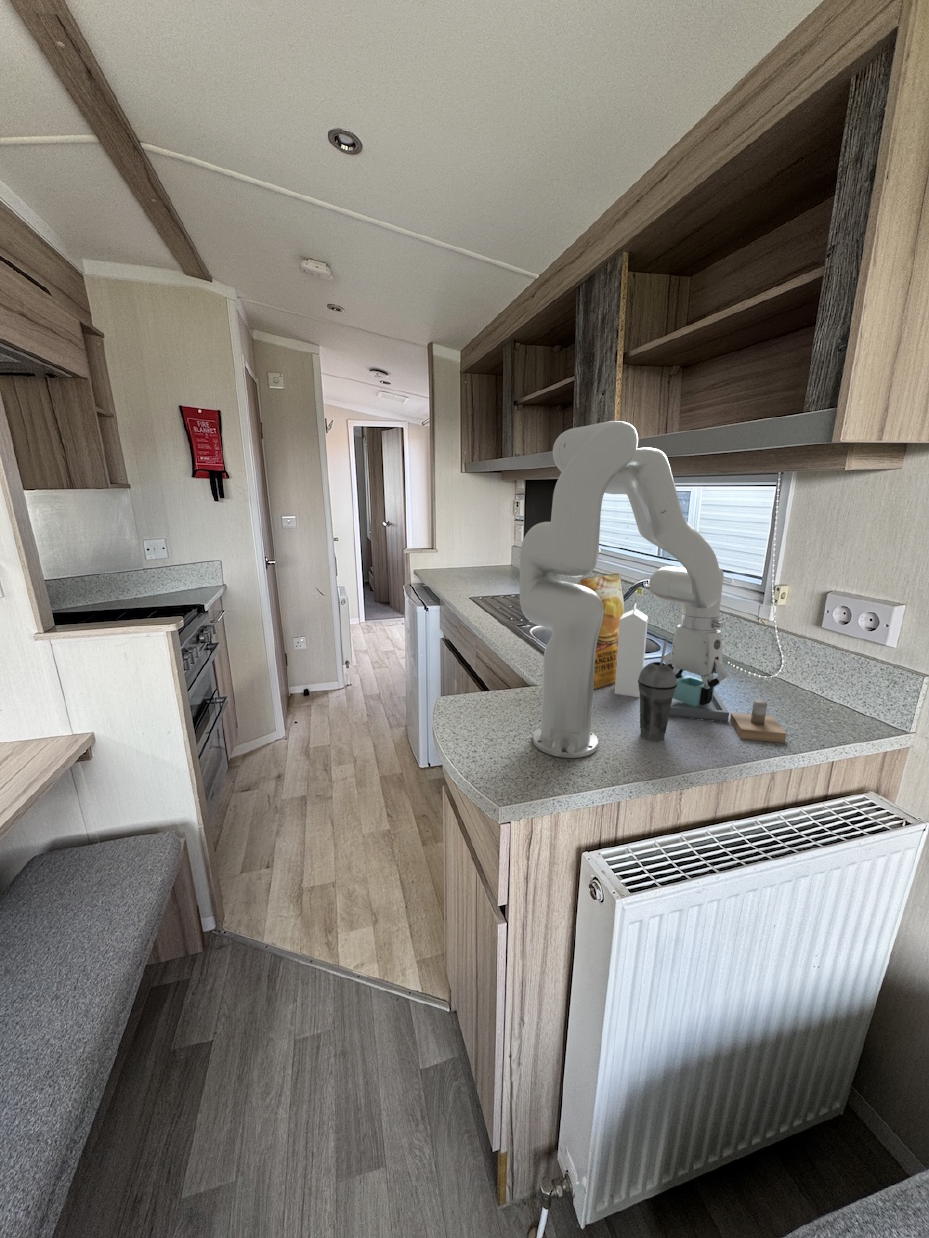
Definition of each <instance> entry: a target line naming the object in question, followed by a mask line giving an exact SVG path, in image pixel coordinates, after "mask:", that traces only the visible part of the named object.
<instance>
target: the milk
mask: <svg viewBox="0 0 929 1238" xmlns="http://www.w3.org/2000/svg"><path fill="white" fill-rule="evenodd" d="M648 620H649V616H648V615H647V614H645V613H644V612H642V611H640V610H639V609H637V603H635V604H634V605H633V608H632V609H631V610H629V611H627V612H625V614H623V615H622V617H621V618H620V624H619V638H618V652H617V666H616V680H615V683H614V684H615V685H614V694H615V695H620V696H627V697H635V698H640V691H639V686H638V684H639V683H638V679H639V676H640V673H641V671H642V669H643V668H644V667H645V658H646V645H647V633H648Z"/></svg>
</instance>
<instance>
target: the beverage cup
mask: <svg viewBox="0 0 929 1238" xmlns="http://www.w3.org/2000/svg"><path fill="white" fill-rule="evenodd" d="M667 644H668V640H664V641H663V646H662V651H661V657H660V661H654V662H650V663H647V664H646V665H644V668H643V669H642V671H641V673H640V676H639V679H638V683H639V684H638V686H639V691H640V697H639V728H640V731H639V732H640V737H641V738H642V739H644V740H646V741H648V742H650V741H651V742H662V741H664V739H665V735H666V732H667V727H668V723H669V718H670V717H669V713H670V708H671V703H672V698H673V696H674V693H675V688H676V687H677V683H676V676H675V673H674V671H673V670H672V669H671V668H670V667H669V666H668V665H666V664H665V662H664V656H665V655H666V648H667Z"/></svg>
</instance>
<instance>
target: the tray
mask: <svg viewBox="0 0 929 1238" xmlns="http://www.w3.org/2000/svg"><path fill="white" fill-rule="evenodd" d="M729 715H730V711H729V710H728V709H727V707H726V706H725V704H724V703H723V700H722V699H721V697H720V696H719V694H718V693H717V691H716V690H715V689H714V695H713V700H712V701H711V702H710V703H708V704H705V705H698V706H692V705H689V704H687V703H684V702H682V701H679V700H676V699H674V698H672V703H671V708H670V713H669V718H677V719H678V718H679V719H687V720H697V719H700V720H699V721H708V720H714V721H713V722H719V721H722V722H721V723H729V719H730V718H729ZM701 719H703V720H701Z"/></svg>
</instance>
